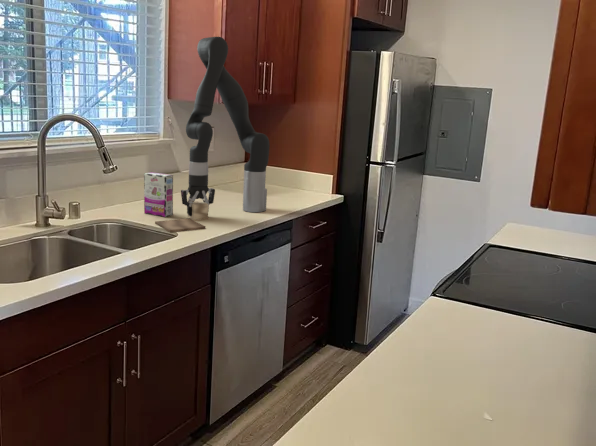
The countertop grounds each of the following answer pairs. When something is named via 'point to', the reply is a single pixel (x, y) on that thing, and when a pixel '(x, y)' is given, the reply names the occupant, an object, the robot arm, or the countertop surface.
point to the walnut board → (179, 225)
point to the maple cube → (199, 210)
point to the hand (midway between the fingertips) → (197, 214)
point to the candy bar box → (158, 194)
